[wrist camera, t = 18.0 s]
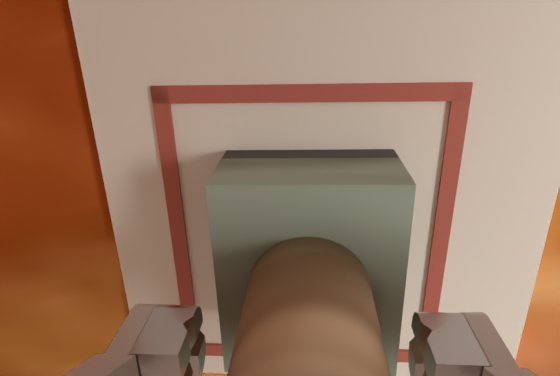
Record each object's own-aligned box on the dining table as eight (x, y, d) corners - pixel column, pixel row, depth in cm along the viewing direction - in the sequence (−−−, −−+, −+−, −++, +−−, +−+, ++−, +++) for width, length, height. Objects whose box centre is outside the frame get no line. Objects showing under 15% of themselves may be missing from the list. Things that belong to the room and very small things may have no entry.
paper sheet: (-19, -480, 8) (-36, -505, 8) (739, -566, 7) (763, -599, 7) (143, 364, 17) (139, 372, 16) (505, 377, 16) (510, 387, 15)
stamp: (226, 150, 13) (-83, 651, 3) (394, 149, 12) (752, 723, 2) (239, 310, 15) (97, 901, 5) (380, 313, 15) (533, 956, 5)
